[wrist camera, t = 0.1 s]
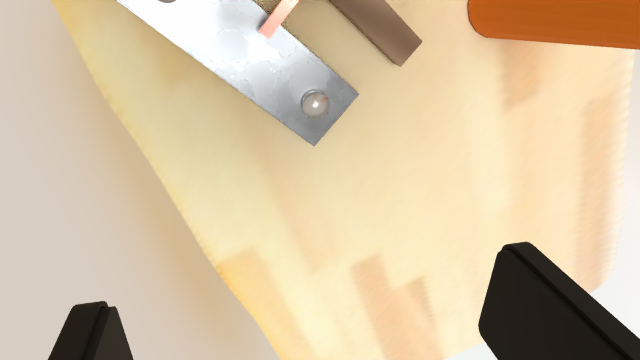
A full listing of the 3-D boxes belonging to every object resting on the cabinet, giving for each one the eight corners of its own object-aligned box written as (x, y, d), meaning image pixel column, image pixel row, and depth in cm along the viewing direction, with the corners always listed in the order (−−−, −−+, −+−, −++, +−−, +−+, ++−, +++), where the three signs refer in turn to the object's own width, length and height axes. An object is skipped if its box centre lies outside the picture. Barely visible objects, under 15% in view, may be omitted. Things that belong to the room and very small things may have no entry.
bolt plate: (157, -83, 30) (153, -87, 28) (356, 91, 40) (362, 97, 38) (110, -7, 32) (103, -6, 30) (312, 142, 42) (316, 151, 40)
